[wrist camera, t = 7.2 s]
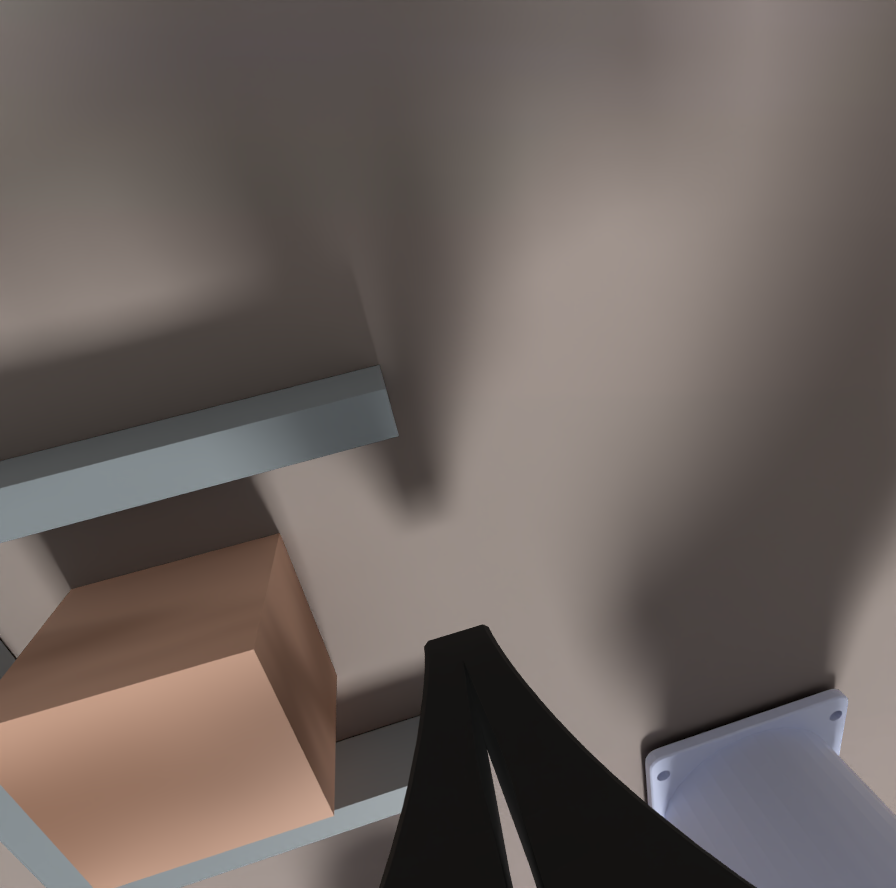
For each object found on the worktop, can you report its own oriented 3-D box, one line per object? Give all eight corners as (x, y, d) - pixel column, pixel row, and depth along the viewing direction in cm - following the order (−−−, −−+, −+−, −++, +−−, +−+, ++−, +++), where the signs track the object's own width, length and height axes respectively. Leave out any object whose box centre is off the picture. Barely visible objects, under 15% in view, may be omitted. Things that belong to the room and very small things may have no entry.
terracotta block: (337, 671, 15) (333, 816, 11) (162, 724, 14) (98, 893, 10) (280, 530, 13) (253, 649, 9) (74, 585, 12) (-44, 735, 8)
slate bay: (476, 720, 16) (493, 781, 14) (112, 839, 15) (79, 921, 13) (379, 364, 11) (385, 388, 9) (-168, 503, 10) (-279, 560, 8)
